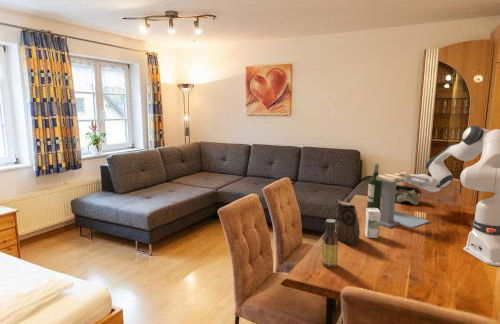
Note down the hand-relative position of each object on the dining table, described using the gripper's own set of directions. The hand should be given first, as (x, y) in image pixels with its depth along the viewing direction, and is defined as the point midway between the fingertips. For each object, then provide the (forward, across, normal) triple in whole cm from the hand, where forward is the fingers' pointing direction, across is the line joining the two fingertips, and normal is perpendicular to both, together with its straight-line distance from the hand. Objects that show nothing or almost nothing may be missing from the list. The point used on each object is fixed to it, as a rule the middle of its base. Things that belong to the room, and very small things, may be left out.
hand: (412, 176), depth 196 cm
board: (+18, 0, -5) cm, 18 cm away
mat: (0, 0, -26) cm, 26 cm away
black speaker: (+48, -3, -43) cm, 65 cm away
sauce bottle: (+74, -15, -53) cm, 92 cm away
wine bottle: (-2, +21, -25) cm, 33 cm away
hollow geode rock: (-31, +23, -15) cm, 41 cm away
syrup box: (+35, -6, -39) cm, 52 cm away
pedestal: (+13, +1, -31) cm, 34 cm away
